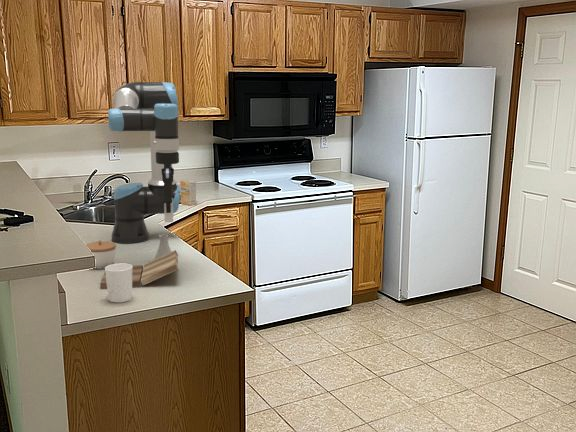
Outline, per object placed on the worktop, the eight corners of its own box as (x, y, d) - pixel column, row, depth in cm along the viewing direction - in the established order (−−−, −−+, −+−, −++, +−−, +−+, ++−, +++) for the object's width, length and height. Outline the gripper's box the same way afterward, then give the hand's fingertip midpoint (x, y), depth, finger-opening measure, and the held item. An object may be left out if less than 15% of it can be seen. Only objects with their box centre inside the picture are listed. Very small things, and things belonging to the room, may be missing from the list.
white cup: (101, 298, 176) (100, 266, 174) (125, 292, 181) (124, 261, 179) (114, 305, 170) (113, 272, 168) (138, 299, 176) (137, 267, 174)
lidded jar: (115, 260, 214) (114, 236, 212) (118, 269, 205) (117, 243, 203) (84, 263, 211) (83, 238, 209) (86, 272, 201) (84, 245, 199)
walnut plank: (107, 271, 202) (107, 266, 201) (143, 270, 204) (143, 264, 203) (100, 288, 184) (100, 282, 184) (139, 287, 186) (139, 281, 186)
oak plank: (146, 268, 204) (144, 264, 203) (178, 254, 205) (175, 249, 204) (143, 285, 186) (140, 280, 186) (177, 269, 187) (175, 264, 187)
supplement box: (180, 203, 323) (179, 180, 320) (186, 202, 327) (186, 179, 324) (190, 205, 318) (189, 182, 315) (196, 204, 322) (196, 181, 319)
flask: (166, 257, 219) (165, 232, 217) (178, 261, 215) (177, 235, 213) (150, 261, 214) (149, 235, 212) (163, 265, 209) (162, 238, 207)
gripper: (156, 148, 201) (158, 213, 205) (154, 154, 181) (156, 226, 186) (178, 148, 202) (180, 213, 207) (178, 154, 183) (180, 225, 187)
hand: (169, 219), depth 196 cm, fingers open, 7 cm apart
